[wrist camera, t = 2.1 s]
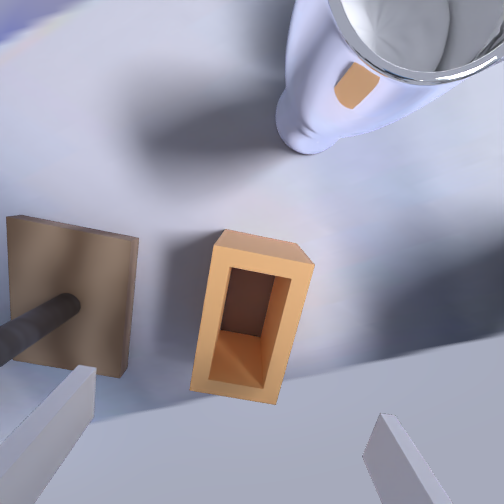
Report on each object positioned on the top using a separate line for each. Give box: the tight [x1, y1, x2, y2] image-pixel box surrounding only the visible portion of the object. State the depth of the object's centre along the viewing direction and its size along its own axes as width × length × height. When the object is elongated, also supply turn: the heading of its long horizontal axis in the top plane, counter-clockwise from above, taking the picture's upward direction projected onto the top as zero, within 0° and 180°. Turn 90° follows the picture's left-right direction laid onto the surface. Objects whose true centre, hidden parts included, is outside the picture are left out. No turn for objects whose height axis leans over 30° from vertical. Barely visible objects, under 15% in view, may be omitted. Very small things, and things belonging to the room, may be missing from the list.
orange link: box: [189, 229, 315, 405], centre depth 21 cm, size 12×7×7 cm, turn 168°
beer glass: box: [276, 0, 504, 154], centre depth 13 cm, size 7×7×15 cm
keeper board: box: [0, 215, 139, 378], centre depth 19 cm, size 11×15×12 cm
